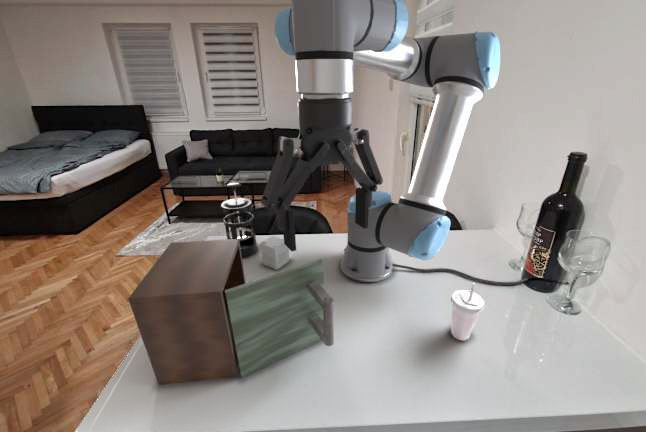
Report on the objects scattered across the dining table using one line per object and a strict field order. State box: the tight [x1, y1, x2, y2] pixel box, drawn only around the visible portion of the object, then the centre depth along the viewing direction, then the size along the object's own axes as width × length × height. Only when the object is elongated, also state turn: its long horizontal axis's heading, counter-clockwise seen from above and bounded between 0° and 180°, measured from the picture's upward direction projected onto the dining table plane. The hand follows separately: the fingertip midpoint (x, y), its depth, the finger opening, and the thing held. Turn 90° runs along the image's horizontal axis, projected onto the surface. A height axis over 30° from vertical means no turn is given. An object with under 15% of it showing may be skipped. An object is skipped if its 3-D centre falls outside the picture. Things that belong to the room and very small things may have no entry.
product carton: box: [259, 235, 291, 271], centre depth 91 cm, size 6×6×7 cm
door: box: [225, 258, 335, 379], centre depth 55 cm, size 8×18×20 cm, turn 122°
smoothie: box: [450, 282, 485, 342], centre depth 64 cm, size 6×6×14 cm
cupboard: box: [127, 239, 247, 386], centre depth 60 cm, size 14×18×20 cm
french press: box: [220, 182, 259, 259], centre depth 95 cm, size 12×9×23 cm
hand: (328, 235), depth 50 cm, fingers open, 13 cm apart
